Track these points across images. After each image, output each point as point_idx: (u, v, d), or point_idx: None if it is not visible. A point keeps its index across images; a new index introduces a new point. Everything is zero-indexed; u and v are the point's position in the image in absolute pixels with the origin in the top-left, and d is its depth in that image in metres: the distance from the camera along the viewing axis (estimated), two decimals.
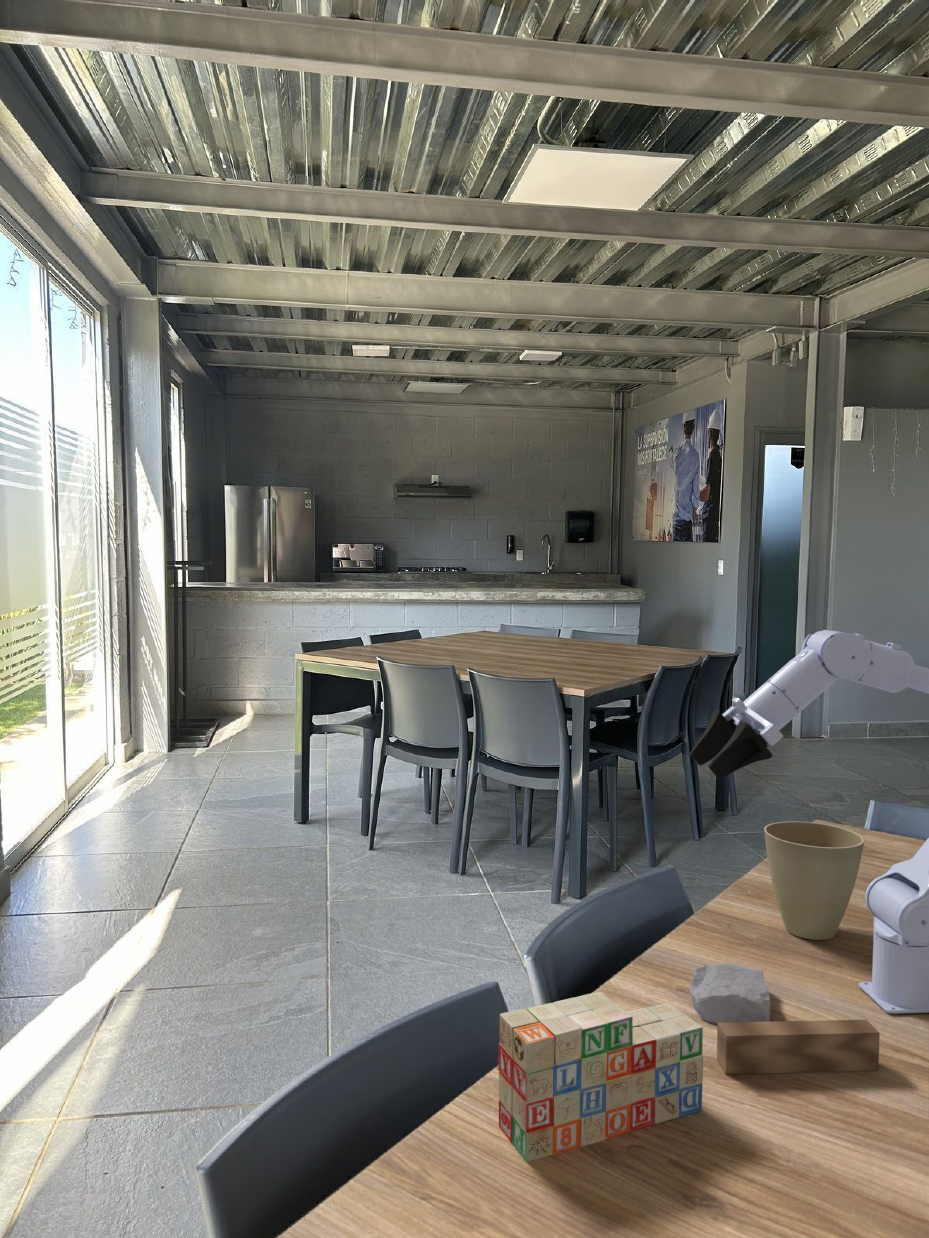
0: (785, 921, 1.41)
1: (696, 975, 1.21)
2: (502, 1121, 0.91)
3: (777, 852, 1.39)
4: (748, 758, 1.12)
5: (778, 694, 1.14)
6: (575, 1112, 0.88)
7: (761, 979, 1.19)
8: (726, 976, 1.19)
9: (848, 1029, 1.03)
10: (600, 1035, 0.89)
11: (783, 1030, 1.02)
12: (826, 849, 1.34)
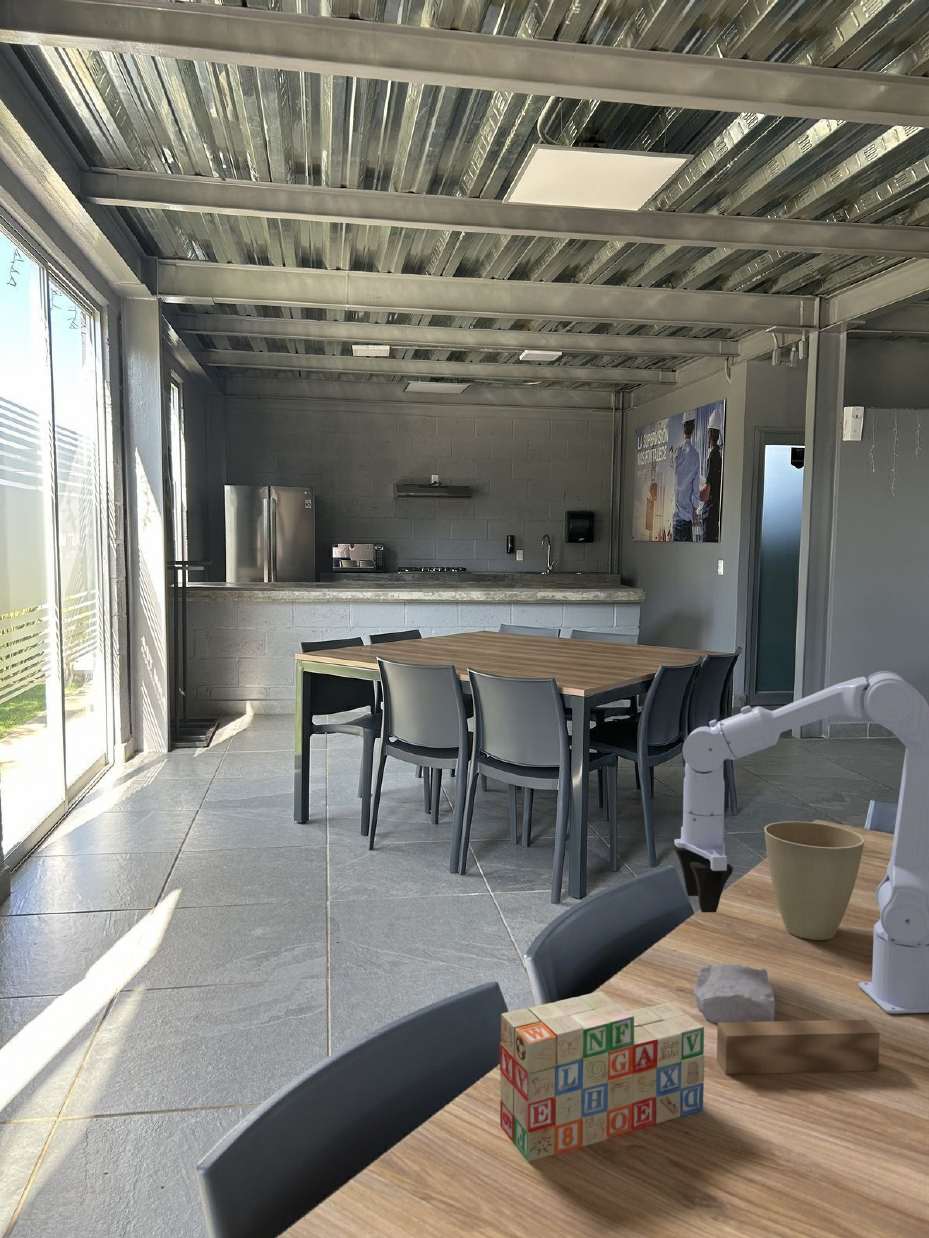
0: (785, 921, 1.41)
1: (700, 975, 1.21)
2: (503, 1121, 0.91)
3: (777, 852, 1.39)
4: (719, 883, 1.24)
5: (698, 818, 1.25)
6: (577, 1111, 0.88)
7: (765, 979, 1.19)
8: (731, 976, 1.19)
9: (848, 1029, 1.03)
10: (601, 1035, 0.89)
11: (783, 1030, 1.02)
12: (826, 849, 1.34)
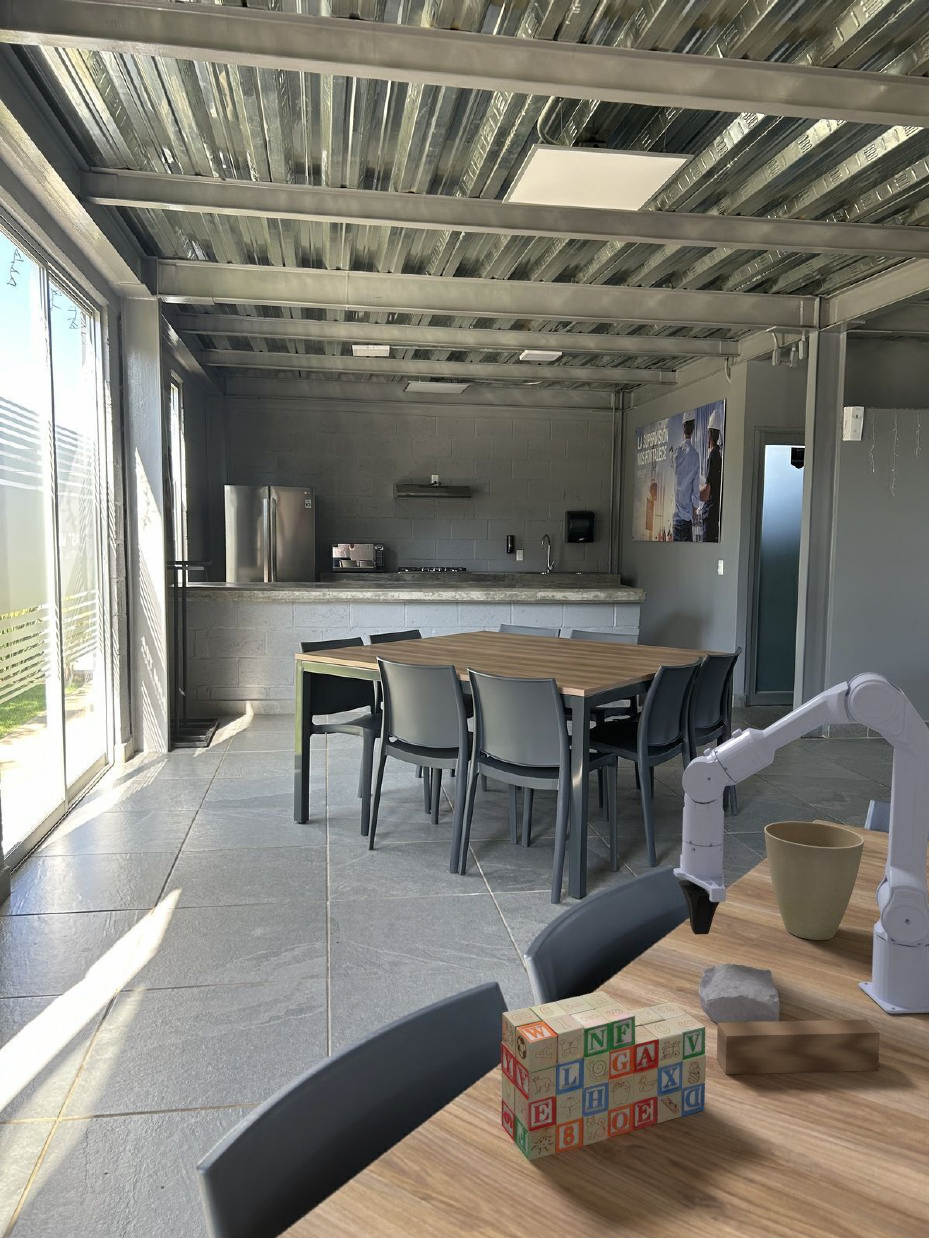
0: (785, 921, 1.41)
1: (704, 976, 1.21)
2: (504, 1120, 0.91)
3: (777, 852, 1.39)
4: (712, 905, 1.27)
5: (697, 849, 1.26)
6: (578, 1110, 0.88)
7: (770, 980, 1.19)
8: (735, 977, 1.19)
9: (848, 1029, 1.03)
10: (602, 1034, 0.89)
11: (783, 1030, 1.02)
12: (826, 849, 1.34)
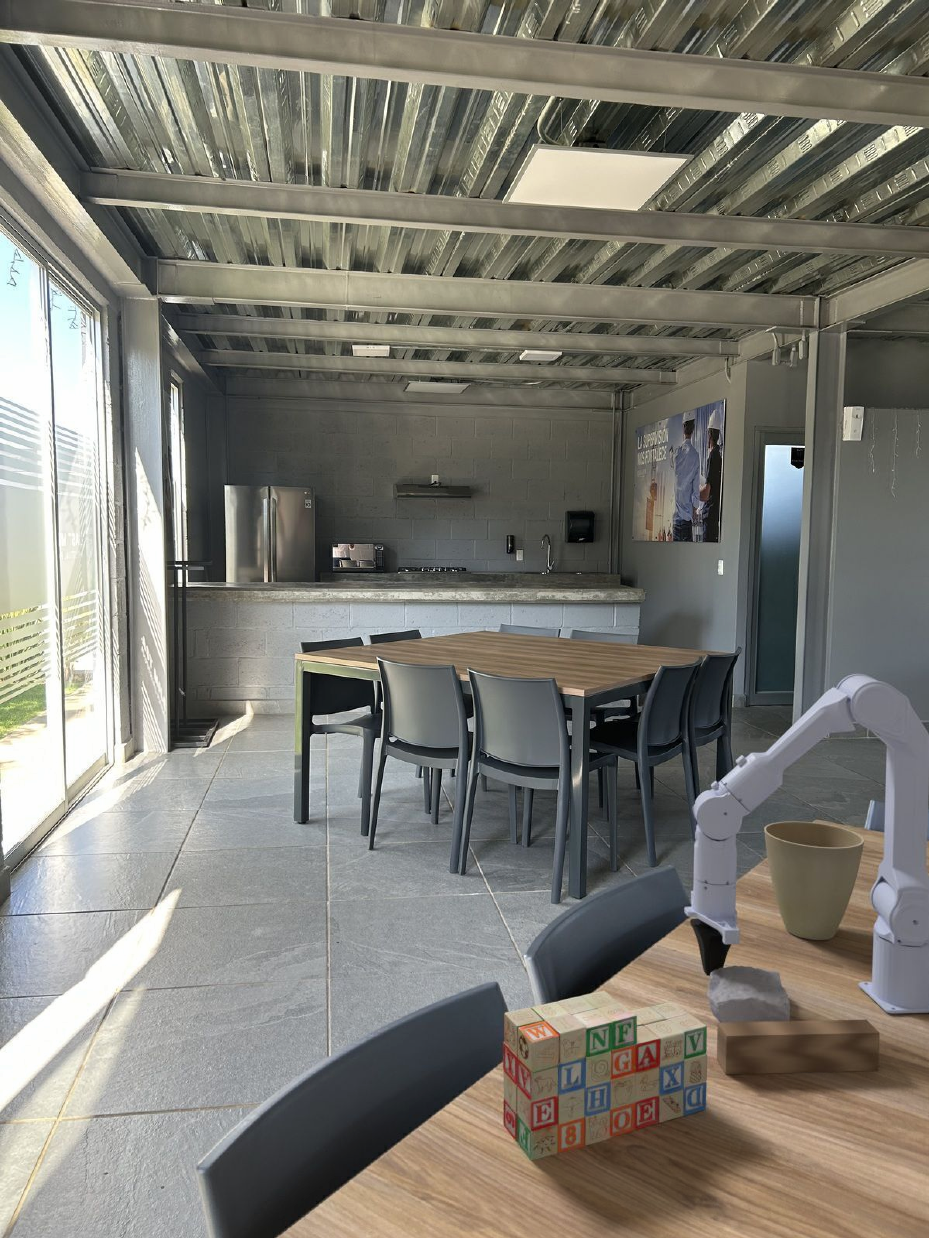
0: (785, 921, 1.41)
1: (712, 978, 1.20)
2: (506, 1120, 0.91)
3: (776, 852, 1.39)
4: (724, 946, 1.22)
5: (709, 887, 1.20)
6: (580, 1110, 0.88)
7: (778, 981, 1.18)
8: (743, 978, 1.18)
9: (848, 1029, 1.03)
10: (604, 1034, 0.89)
11: (783, 1030, 1.02)
12: (826, 849, 1.34)
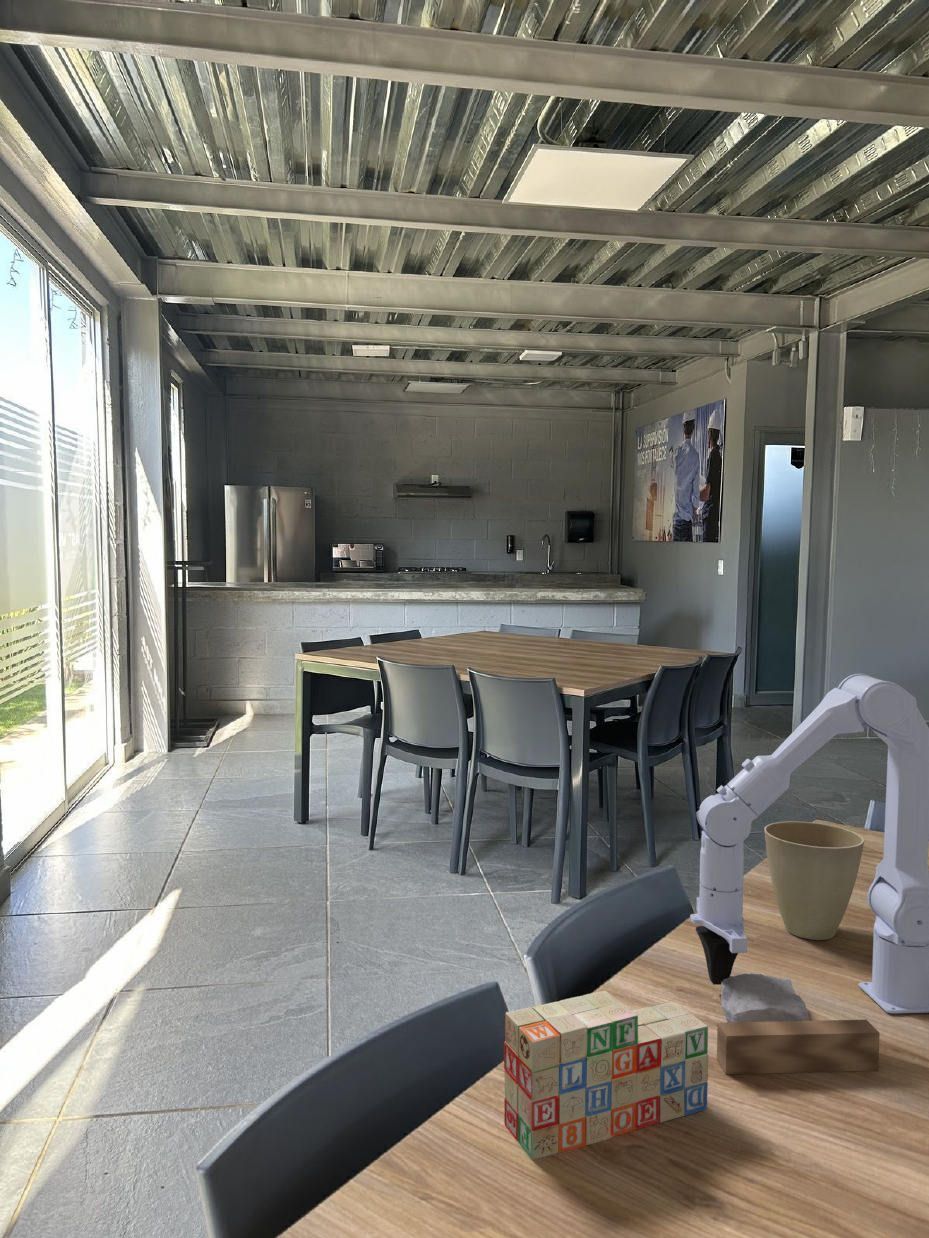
0: (785, 921, 1.41)
1: (724, 988, 1.17)
2: (507, 1119, 0.91)
3: (777, 852, 1.39)
4: (731, 954, 1.19)
5: (715, 894, 1.18)
6: (581, 1110, 0.88)
7: (791, 989, 1.16)
8: (757, 987, 1.16)
9: (848, 1029, 1.03)
10: (605, 1034, 0.89)
11: (783, 1030, 1.02)
12: (826, 849, 1.34)
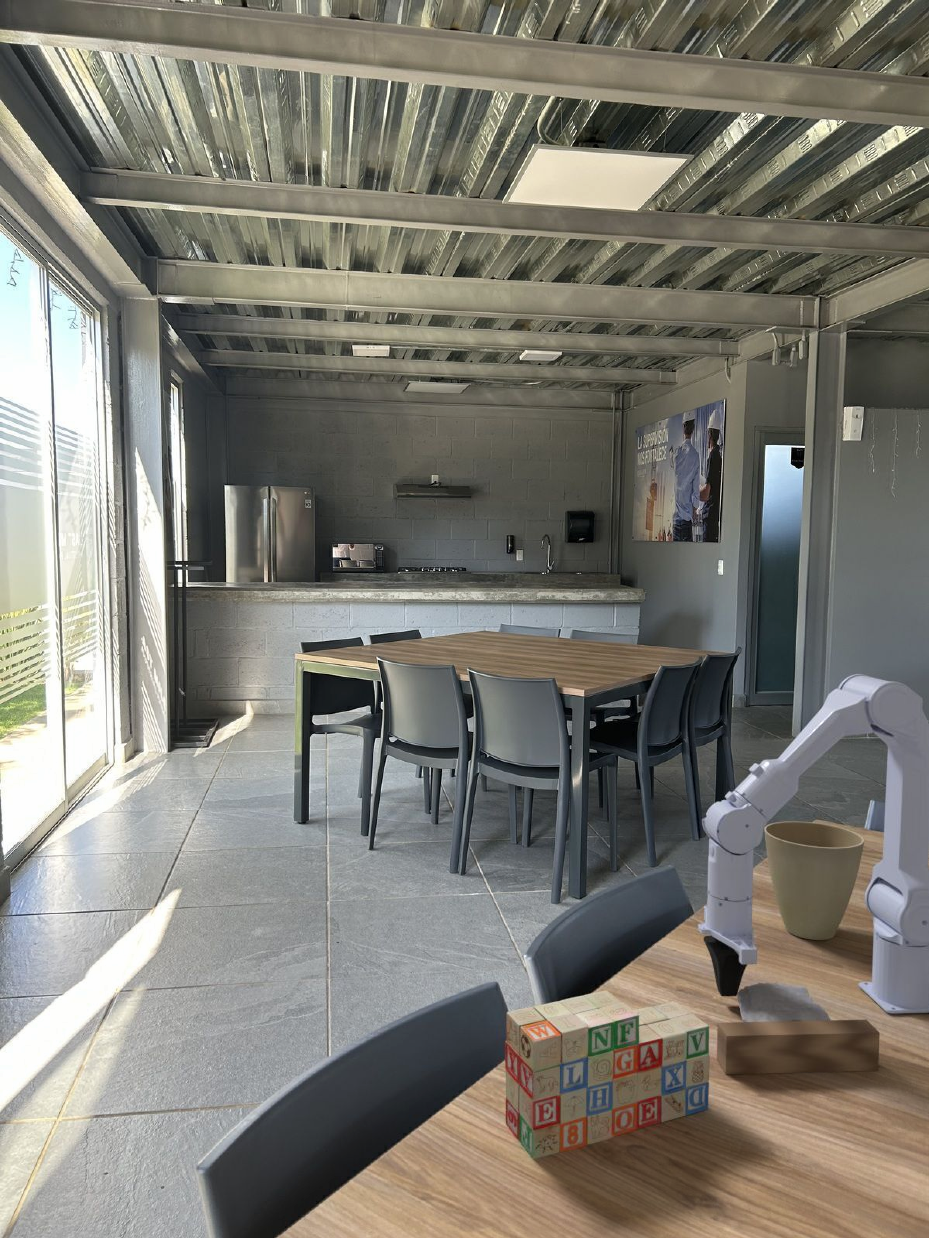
0: (785, 921, 1.41)
1: (742, 999, 1.14)
2: (509, 1119, 0.91)
3: (777, 852, 1.39)
4: (740, 965, 1.16)
5: (724, 904, 1.14)
6: (582, 1110, 0.88)
7: (808, 997, 1.14)
8: (775, 997, 1.13)
9: (848, 1029, 1.03)
10: (606, 1033, 0.89)
11: (783, 1030, 1.02)
12: (826, 849, 1.34)
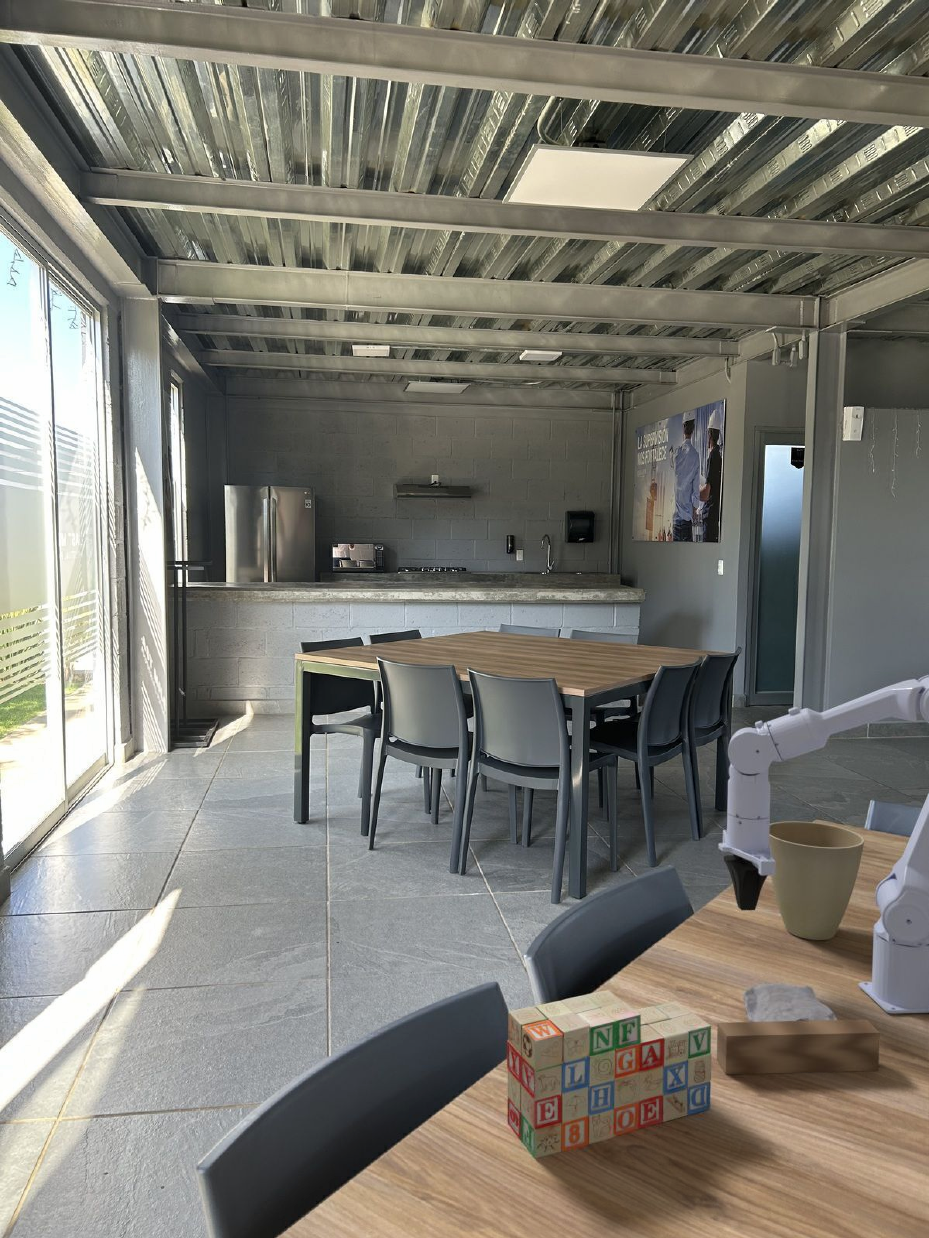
0: (785, 921, 1.41)
1: (748, 999, 1.14)
2: (510, 1118, 0.91)
3: (776, 852, 1.39)
4: (759, 880, 1.24)
5: (743, 822, 1.22)
6: (584, 1109, 0.88)
7: (814, 997, 1.14)
8: (781, 997, 1.13)
9: (848, 1029, 1.03)
10: (608, 1033, 0.89)
11: (783, 1030, 1.02)
12: (826, 849, 1.34)
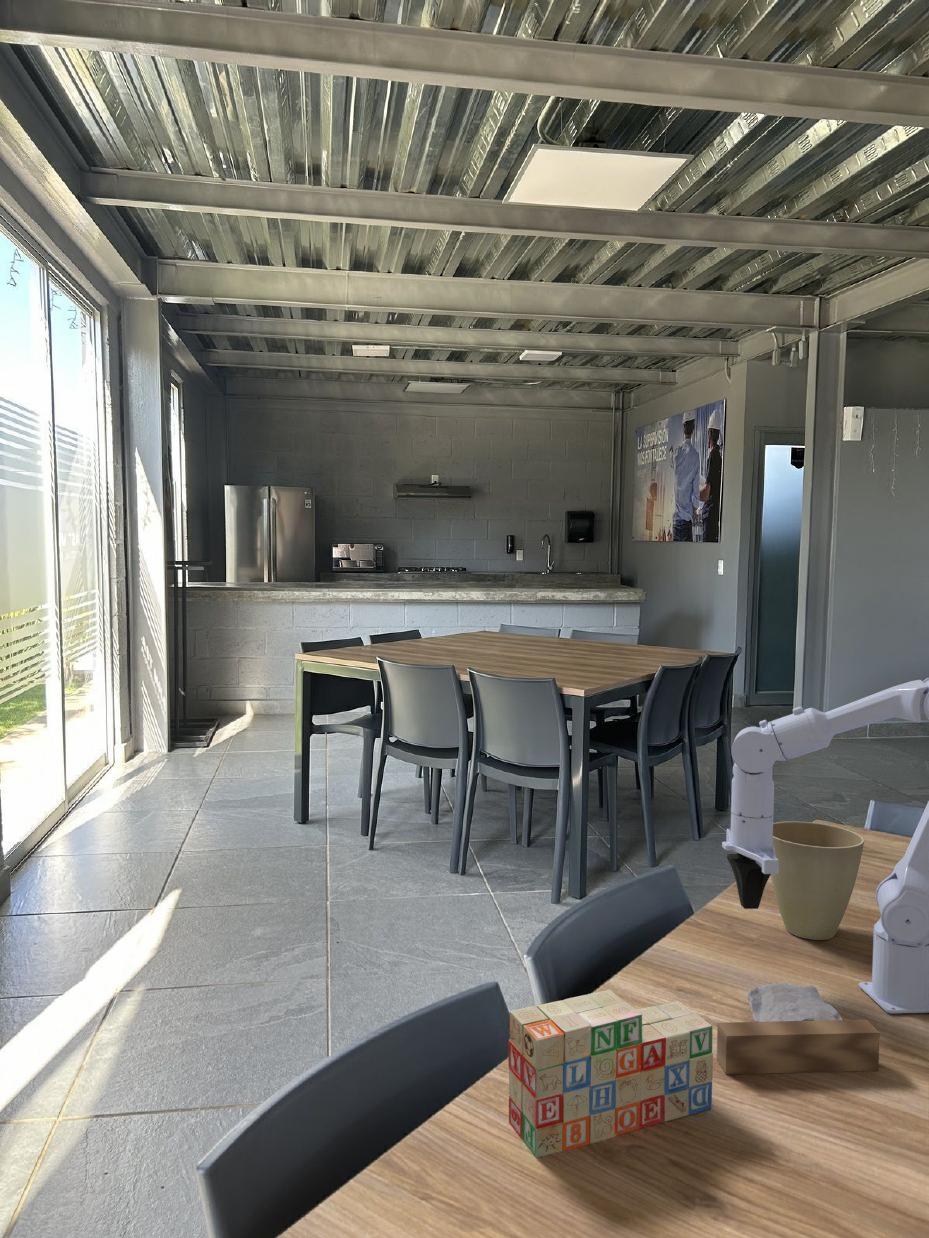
0: (785, 921, 1.41)
1: (753, 999, 1.14)
2: (512, 1117, 0.91)
3: (776, 852, 1.39)
4: (762, 879, 1.24)
5: (747, 821, 1.23)
6: (585, 1108, 0.88)
7: (819, 997, 1.14)
8: (786, 997, 1.13)
9: (848, 1029, 1.03)
10: (609, 1033, 0.89)
11: (783, 1030, 1.02)
12: (826, 849, 1.34)
